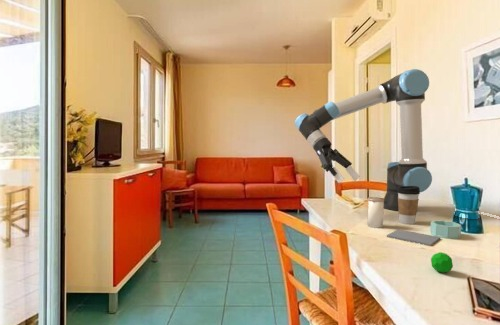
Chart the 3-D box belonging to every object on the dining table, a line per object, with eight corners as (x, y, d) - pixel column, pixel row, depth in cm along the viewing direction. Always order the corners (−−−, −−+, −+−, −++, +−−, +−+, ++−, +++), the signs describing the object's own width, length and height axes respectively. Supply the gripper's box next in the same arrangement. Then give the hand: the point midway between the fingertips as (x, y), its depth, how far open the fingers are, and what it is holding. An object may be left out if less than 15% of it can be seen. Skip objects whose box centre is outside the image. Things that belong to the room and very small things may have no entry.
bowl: (434, 230, 124) (435, 219, 124) (462, 235, 118) (463, 223, 117) (427, 235, 117) (428, 223, 117) (456, 241, 111) (457, 228, 111)
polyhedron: (444, 276, 81) (445, 258, 81) (426, 269, 86) (426, 251, 86) (456, 273, 84) (457, 255, 83) (438, 266, 88) (439, 249, 88)
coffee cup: (421, 225, 130) (423, 188, 129) (398, 224, 132) (400, 187, 131) (415, 220, 138) (416, 185, 137) (393, 219, 140) (395, 184, 139)
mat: (398, 230, 123) (398, 229, 123) (440, 238, 113) (440, 237, 113) (386, 236, 115) (386, 235, 115) (430, 246, 105) (430, 244, 105)
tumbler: (370, 223, 133) (371, 196, 133) (385, 226, 129) (386, 198, 128) (364, 225, 129) (365, 198, 128) (379, 228, 125) (380, 200, 124)
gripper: (328, 148, 156) (357, 183, 146) (297, 148, 138) (328, 188, 128) (339, 137, 152) (369, 172, 142) (309, 136, 134) (341, 176, 124)
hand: (349, 180), depth 135 cm, fingers open, 13 cm apart
